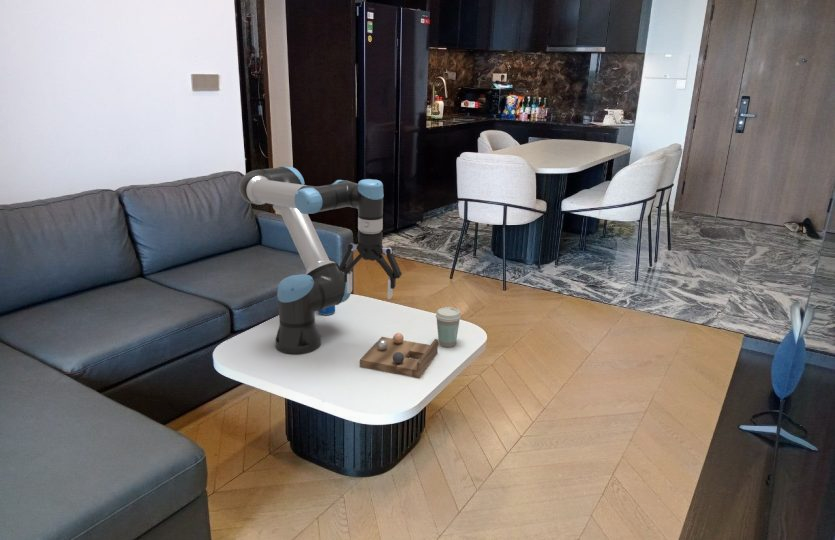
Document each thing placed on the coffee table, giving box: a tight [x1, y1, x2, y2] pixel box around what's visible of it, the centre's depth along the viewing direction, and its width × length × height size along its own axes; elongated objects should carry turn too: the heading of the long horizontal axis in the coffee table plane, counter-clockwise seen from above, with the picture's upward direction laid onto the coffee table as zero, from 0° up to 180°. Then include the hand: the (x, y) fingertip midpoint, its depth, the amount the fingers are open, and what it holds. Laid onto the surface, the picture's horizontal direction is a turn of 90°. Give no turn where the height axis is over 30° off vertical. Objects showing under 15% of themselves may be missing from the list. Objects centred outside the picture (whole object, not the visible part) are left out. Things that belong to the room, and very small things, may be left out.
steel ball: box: [377, 339, 388, 350], centre depth 189 cm, size 4×4×4 cm
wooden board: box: [359, 336, 439, 379], centre depth 188 cm, size 20×18×5 cm
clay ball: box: [392, 332, 405, 344], centre depth 194 cm, size 4×4×4 cm
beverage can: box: [317, 305, 336, 316], centre depth 222 cm, size 6×6×12 cm
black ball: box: [393, 352, 404, 363], centre depth 181 cm, size 4×4×4 cm
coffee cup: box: [435, 306, 462, 348], centre depth 199 cm, size 8×8×12 cm
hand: (369, 294), depth 186 cm, fingers open, 13 cm apart
